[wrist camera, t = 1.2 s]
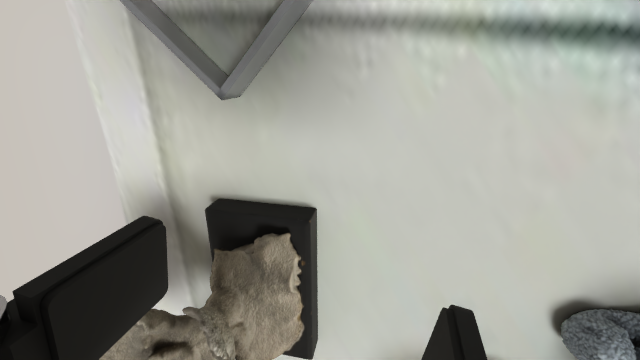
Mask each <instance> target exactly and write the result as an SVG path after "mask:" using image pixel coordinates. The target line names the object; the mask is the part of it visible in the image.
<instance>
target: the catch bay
mask: <svg viewBox="0 0 640 360" xmlns="http://www.w3.org/2000/svg"><path fill="white" fill-rule="evenodd" d="M120 1H121V2H122V3H123V4H124V5H125V6H126V7H127V8H128V9H129V10H130V11H131V12H132V13H133V14H134V15H135V16H136V17H137V18H138V19H139V20H140V21H141V22H142V23H143V24H144V25H145V26H146V27H147V28H148V29H149V30H150V31H151V32H152V33H153V34H155V35H156V36H157V37H158V38H159V39H160V40H161V41H162V42H163V43H164V44H165V45H166V46H167V47H168V48H169V49H170V50H171V51H172V52H173V53H174V54H175V55H176V56H177V57H178V58H179V59H180V60H181V61H182V62H183V63H184V64H185V65H186V66H187V67H188V68H189V69H190V70H191V71H192V72H193V73H194V74H195V75H196V76H197V77H198V78H199V79H200V80H202V81H203V82H204V83H205V84H206V85H207V86H208V87H209V88H210V89H211V90H212V91H213V92H214V93H215V94H216V95H217V96H218V97H219V98H220V99H221V100H226V99H231V98H237V97H240V96H241V94H242V93H243V92H244V91H245V89H246V88H247V87H248V85H249V84H250V83H251V81H252V80H253V79H254V77H255V76H256V75H257V73H258V72H259V71H260V69H261V68H262V67H263V65H264V64H265V63H266V62H267V60H268V59H269V58H270V56H271V55H272V54H273V52H274V51H275V50H276V48H277V47H278V46H279V44H280V43H281V42H282V40H283V39H284V38H285V36H286V35H287V34H288V33H289V31H290V30H291V29H292V27H293V26H294V25H295V23H296V22H297V21H298V19H299V18H300V17H301V15H302V14H303V13H304V11H305V10H306V9H307V8H308V6H309V5H310V4H311V2H312V1H313V0H283V2H282V3H281V5H280V6H279V7H278V9H277V10H276V12H275V13H274V14H273V16H272V17H271V19H270V20H269V21H268V23H267V24H266V26H265V27H264V28H263V30H262V31H261V33H260V34H259V35H258V37H257V38H256V40H255V41H254V42H253V44H252V45H251V47H250V48H249V49H248V51H247V52H246V54H245V55H244V56H243V58H242V59H241V61H240V62H239V63H238V65H237V66H236V68H235V69H234V70H233V72H232V73H231V75H230V76H229V77H228V76H227V75H226V74H225V73H224V72H223V71H222V70H221V69H220V68H219V67H218V66H217V65H216V64H215V63H214V62H213V61H212V60H211V59H210V58H209V57H208V56H207V55H206V54H205V53H204V52H203V51H202V50H201V49H200V48H199V47H198V46H197V45H196V44H195V43H194V42H193V41H192V40H191V39H190V38H189V37H188V36H187V35H186V34H185V33H183V32H182V31H181V30H180V29H179V28H178V27H177V26H176V25H175V24H174V23H173V22H172V21H171V20H170V19H169V18H168V17H167V16H166V15H165V14H164V13H163V12H162V11H161V10H160V9H159V8H158V7H157V6H156V5H155V4H154V3H153V2H152V1H151V0H120Z"/></svg>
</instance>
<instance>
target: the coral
mask: <svg viewBox="0 0 640 360" xmlns="http://www.w3.org/2000/svg"><path fill="white" fill-rule="evenodd" d="M205 214H206V221H207V227H208V234H209V241H210V248H211V255H212V262H213V263H212V270H211V272H212V274H211V277H210V286H211V291H212V294H211V296H210V297H209V298H208V300H207V301H206V304H205V306H204V307H202V308H201V309H197V308H193V307H186V308H184V309H183V313H184V314H187V315H180V316H176V315H172V314H170V313H168V312H166V311H163V310H157V309H150V310H149V311H148V312H147V313H146V314H145V315H144V316H143V317H142V318H141V319H140V320H139V321H138V322H137V323H136V324H135V325H134V326H133V327H132V328H131V329H130V330H129V331H128V332H127V333H126V334H125V335H124V336H123V337H122V338H121V339H120V340H118V341H117V342H116V343H115V344H114V345H113V346H112V347H111V348H110V349H109V350H108V351H107V352H106V353H105V354H104V355H103V356H102V357H101V358H100V359H99V360H272V359H274V358H276V357H278V356H279V355H282V354H283V355H288V356H293V357H299V358H303V359H309V360H310V359H313V356H314V352H315V348H316V344H317V340H318V316H317V314H318V308H317V292H318V291H317V209H316V208H309V207H299V206H289V205H279V204H268V203H260V202H251V201H241V200H231V199H218V200H216V201H215V202H214V203H212V204H211V205H210V206H209V207H207V208H206V209H205Z"/></svg>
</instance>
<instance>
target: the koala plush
mask: <svg viewBox="0 0 640 360" xmlns="http://www.w3.org/2000/svg"><path fill="white" fill-rule="evenodd" d="M561 336H562V338H563V343H564V344H565V345H566V347H567V348H568V349H569V351H570V352H571V353H572V354H573V355H574V356H576V358H577V359H579V360H640V314H638V313H634V312H624V311H621V310H620V311H618V310H616V311H614V310H612V309H611V310H605V309H604V310H603V309H599V310H597V309H594V310H587V311H584V312H578V313H577V314H573V315H572V316H571V317H570V318H568V320H567V319H566V320H565V321H564V322H563V323H562V326H561Z"/></svg>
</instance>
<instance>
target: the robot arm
mask: <svg viewBox="0 0 640 360" xmlns="http://www.w3.org/2000/svg"><path fill="white" fill-rule="evenodd" d="M167 289H168V269H167V242H166V227H165V226H163V222H162V221H161V220H158V219H155V218H152V217H148V216H142V217H140V218H138V219H137V220H135V221H133V222H131V223H130V224H128V225H126V226H124V227H123V228H121V229H119V230H118V231H116V232H114V233H112V234H111V235H109V236H107V237H106V238H104V239H102V240H100V241H99V242H97V243H95V244H93V245H92V246H90V247H88V248H87V249H85V250H83V251H81V252H80V253H78V254H76V255H74V256H73V257H71V258H69V259H67V260H66V261H64V262H62V263H61V264H59V265H57V266H55V267H54V268H52V269H50V270H48V271H47V272H45V273H43V274H42V275H40V276H38V277H36V278H35V279H33V280H31V281H29V282H28V283H26V284H24V285H23V286H21V287H19V288H17V289H16V290H14V291H13V295H14V299H13V300H11V301H9V302H8V303H7V301H6V299H5V297H3V296H1V295H0V360H99V359H100V358H101V357H102V356H103V355H104V354H105V353H106V352H107V351H108V350H109V349H110V348H111V347H112V346H113V345H114V344H115V343H116V342H117V341H118V340H120V339H121V338H122V337H123V336H124V335H125V334H126V333H127V332H128V331H129V330H130V329H131V328H132V327H133V326H134V325H135V324H136V323H137V322H138V321H139V320H140V319H141V318H142V317H143V316H144V315H145V314H146V313H147V312H148V311H149V310H150V309H151V308H153V307H154V306H155V305H156V304H157V303H158V302H159V301H160V300H161V299H162V298H163V297H164V295H165V294H166V292H167ZM422 360H487V357H486V354H485V350H484V347H483V343H482V340H481V337H480V333H479V330H478V326H477V323H476V320H475V316H474V313H473V311H472V310H469V309H465V308H462V307H459V306H455V305H450V306H449V308H448V309H447V308H442V310H441V312H440V315H439V317H438V320H437V322H436V325H435V327H434V330H433V332H432V335H431V337H430V340H429V342H428V345H427V347H426V350H425V352H424V355H423V357H422Z"/></svg>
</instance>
